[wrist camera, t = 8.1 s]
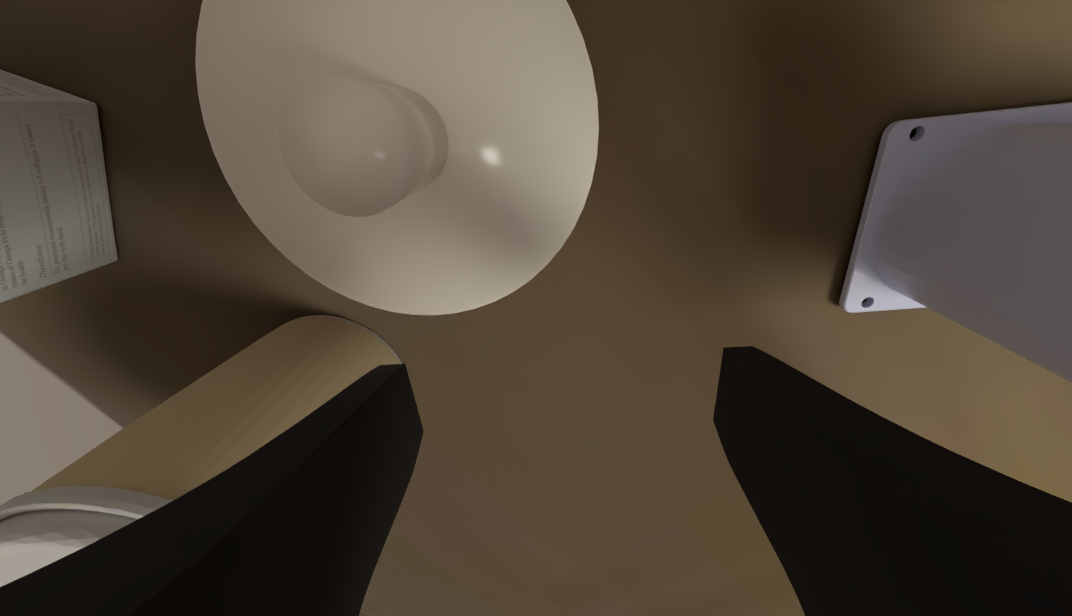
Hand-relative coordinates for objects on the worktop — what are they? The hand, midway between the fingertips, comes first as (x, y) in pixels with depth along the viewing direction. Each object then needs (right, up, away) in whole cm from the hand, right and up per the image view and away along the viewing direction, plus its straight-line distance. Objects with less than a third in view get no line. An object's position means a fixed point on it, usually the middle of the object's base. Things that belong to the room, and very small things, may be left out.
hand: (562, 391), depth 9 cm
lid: (-5, +7, +3) cm, 9 cm away
